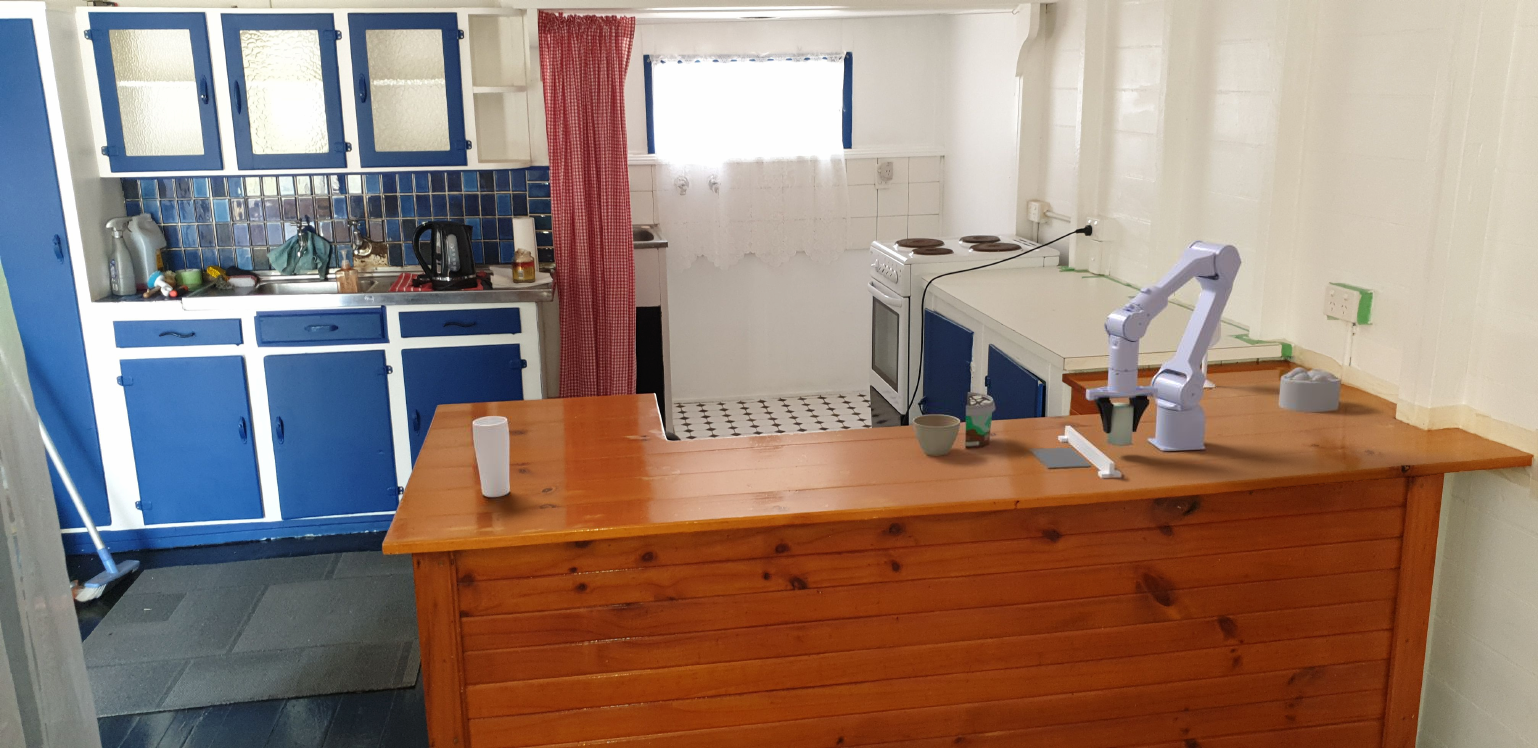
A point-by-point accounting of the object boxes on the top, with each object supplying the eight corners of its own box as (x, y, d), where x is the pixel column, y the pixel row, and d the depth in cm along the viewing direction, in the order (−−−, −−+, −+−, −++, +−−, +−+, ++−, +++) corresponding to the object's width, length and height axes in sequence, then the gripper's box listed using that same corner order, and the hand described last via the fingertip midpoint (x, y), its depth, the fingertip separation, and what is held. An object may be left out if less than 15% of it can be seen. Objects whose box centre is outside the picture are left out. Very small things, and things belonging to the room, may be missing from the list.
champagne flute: (1191, 388, 286) (1198, 295, 280) (1186, 382, 292) (1193, 291, 286) (1219, 389, 285) (1226, 296, 279) (1213, 382, 291) (1220, 291, 285)
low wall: (1075, 438, 247) (1076, 425, 246) (1121, 477, 222) (1122, 462, 221) (1058, 439, 247) (1058, 426, 246) (1101, 478, 222) (1102, 463, 221)
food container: (994, 452, 239) (995, 407, 237) (965, 451, 240) (966, 406, 238) (994, 435, 251) (995, 392, 248) (966, 434, 252) (967, 391, 250)
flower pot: (965, 448, 242) (965, 416, 240) (952, 462, 233) (952, 429, 232) (920, 443, 246) (921, 411, 245) (906, 456, 238) (906, 424, 236)
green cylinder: (1126, 438, 237) (1128, 402, 235) (1135, 445, 232) (1137, 408, 230) (1103, 439, 236) (1104, 403, 234) (1112, 446, 232) (1113, 409, 230)
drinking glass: (481, 488, 224) (475, 416, 220) (515, 486, 224) (510, 415, 220) (475, 500, 217) (469, 426, 213) (511, 498, 218) (505, 424, 214)
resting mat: (1071, 448, 240) (1071, 447, 240) (1091, 466, 228) (1091, 465, 228) (1030, 450, 239) (1030, 449, 239) (1048, 468, 228) (1048, 467, 228)
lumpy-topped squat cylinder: (1344, 409, 264) (1348, 374, 262) (1295, 414, 262) (1298, 378, 260) (1315, 398, 274) (1318, 364, 272) (1267, 402, 272) (1270, 368, 270)
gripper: (1149, 362, 235) (1145, 424, 238) (1081, 365, 234) (1079, 427, 237) (1163, 370, 228) (1159, 433, 231) (1094, 373, 227) (1091, 437, 230)
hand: (1119, 431), depth 234 cm, fingers closed on green cylinder, 5 cm apart
